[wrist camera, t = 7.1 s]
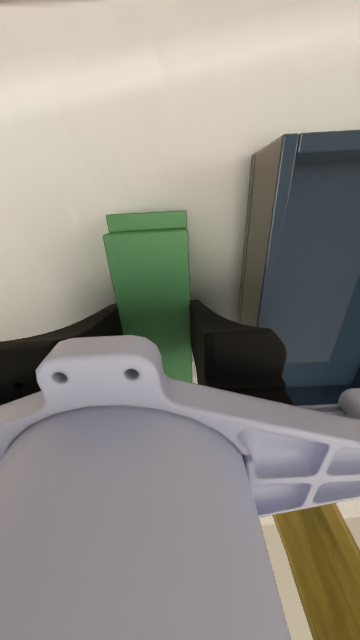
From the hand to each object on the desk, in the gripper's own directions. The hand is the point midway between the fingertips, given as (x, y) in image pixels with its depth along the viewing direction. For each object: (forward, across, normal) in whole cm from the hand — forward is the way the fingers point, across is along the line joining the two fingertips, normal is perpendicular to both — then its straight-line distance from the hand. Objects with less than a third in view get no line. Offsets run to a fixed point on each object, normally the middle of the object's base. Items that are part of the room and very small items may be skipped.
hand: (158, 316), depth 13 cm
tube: (+1, 0, 0) cm, 1 cm away
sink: (+1, -10, 0) cm, 11 cm away
